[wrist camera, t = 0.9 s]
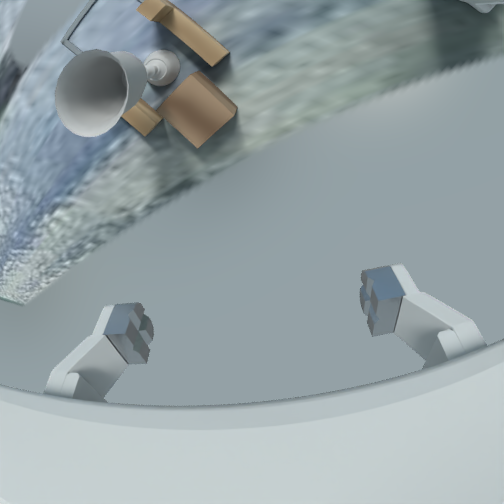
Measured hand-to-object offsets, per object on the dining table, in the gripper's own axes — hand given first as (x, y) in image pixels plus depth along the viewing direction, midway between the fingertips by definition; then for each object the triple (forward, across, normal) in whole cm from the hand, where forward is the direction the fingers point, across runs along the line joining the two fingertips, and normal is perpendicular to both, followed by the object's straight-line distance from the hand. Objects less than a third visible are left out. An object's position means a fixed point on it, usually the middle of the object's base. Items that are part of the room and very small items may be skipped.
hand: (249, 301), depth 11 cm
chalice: (+32, +9, -10) cm, 35 cm away
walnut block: (+32, +5, -4) cm, 33 cm away
